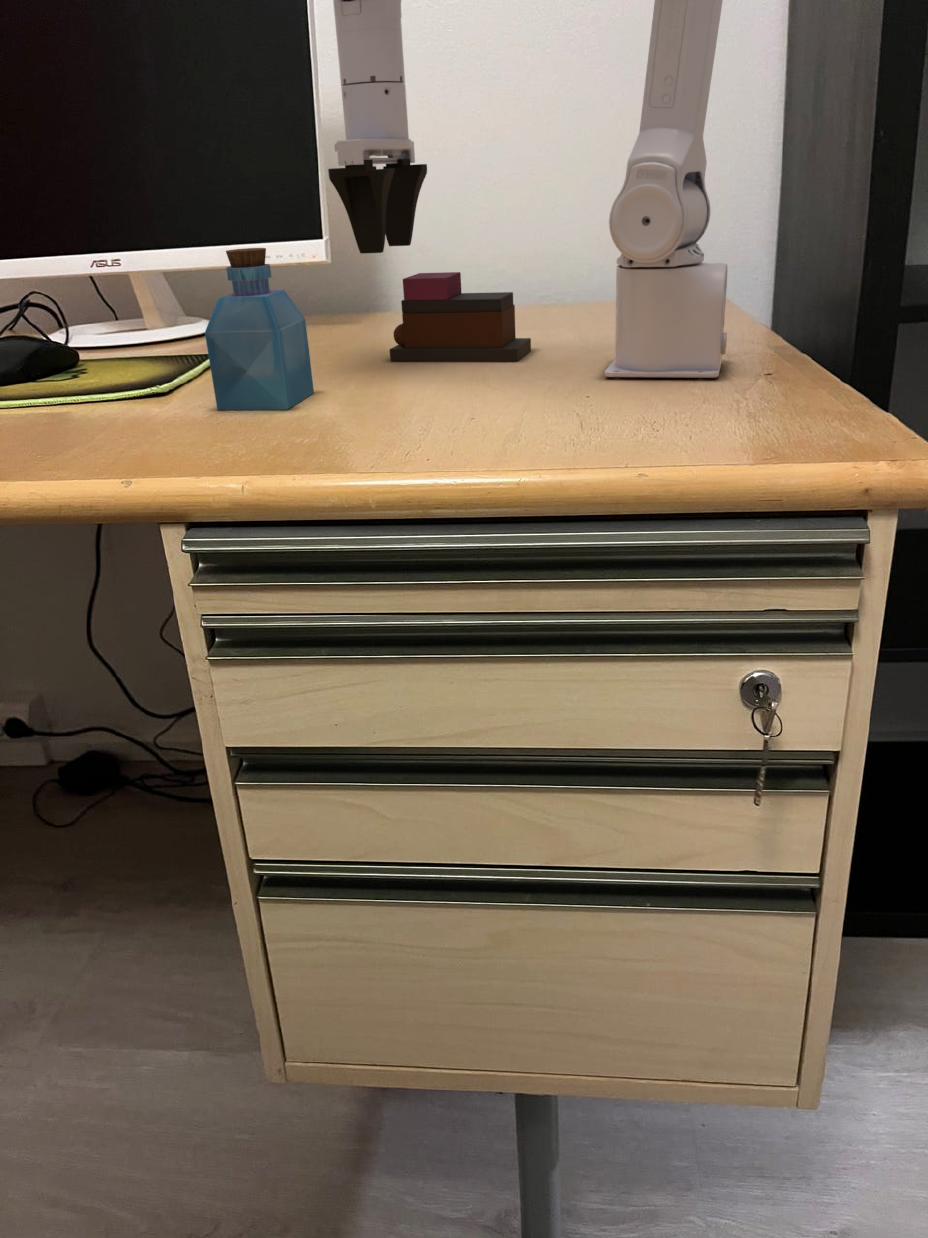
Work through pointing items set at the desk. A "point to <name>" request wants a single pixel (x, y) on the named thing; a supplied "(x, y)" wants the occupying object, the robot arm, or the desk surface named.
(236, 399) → the perfume bottle
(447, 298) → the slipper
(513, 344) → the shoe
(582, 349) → the desk surface
